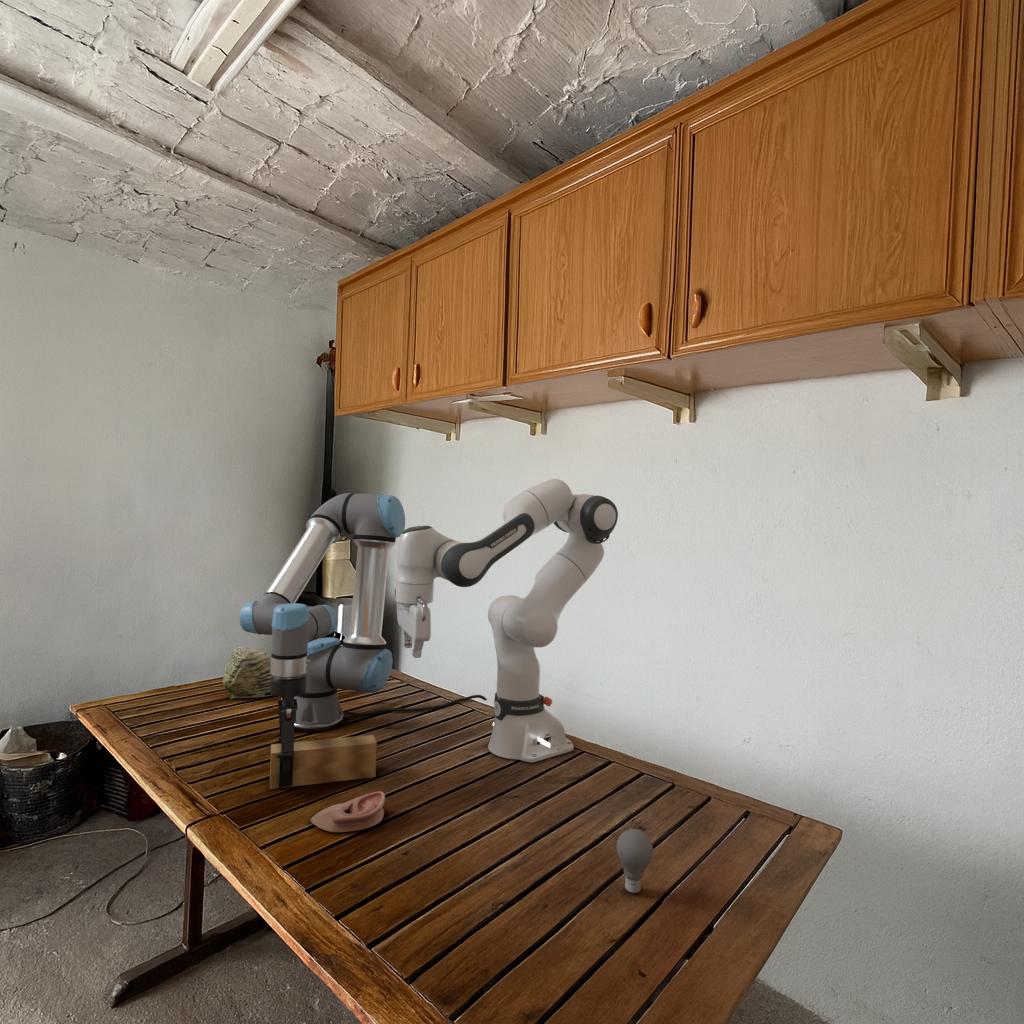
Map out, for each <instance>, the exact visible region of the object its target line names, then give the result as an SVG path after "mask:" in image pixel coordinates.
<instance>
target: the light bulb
mask: <svg viewBox="0 0 1024 1024" xmlns="http://www.w3.org/2000/svg"><path fill="white" fill-rule="evenodd" d="M615 849H616V854H617V857H618V859H619V861H620V863H621V865H622V867H623V873H624V874H623V875H624V876H625V878H624V888H625V890H627V891H628V892H630V893H634V894H635V893H639V892H640V891H641V889H642V887H641V886H642V879H643V877H644V875H645V871H646V868H647V867H648V866H649V864H650V863H651V861H652V859H653V855H654V847H653V843H652V841H651V838H649V836H648V835H647V834H646V833H645V832H643V831H642V830H641V829H636V828H629V829H627V830H625V831H623V832H622V833H621V834H620V835H619V837H618V839H617V841H616V847H615Z"/></svg>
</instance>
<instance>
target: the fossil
mask: <svg viewBox="0 0 1024 1024" xmlns="http://www.w3.org/2000/svg"><path fill="white" fill-rule="evenodd" d="M270 668H271V657H270V656H269V655H268V654H267V653H266V652H265V650H264V649H263V648H260V647H258V648H251V647H247V646H246V647H245V646H238V647H237V648H236V649H235V650H233V651H232V653H231V656H230V657H229V659H228V660H227V663H226V666H225V668H224V671H223V675H222V676H223V677H222V685H223V687H224V688H225V690H226V691H228V693H229V698H230V699H250V698H264V697H271V696H273V695H272V694H271V693H270V678H271V677H272V675H271V674H270Z"/></svg>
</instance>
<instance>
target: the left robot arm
mask: <svg viewBox="0 0 1024 1024" xmlns="http://www.w3.org/2000/svg"><path fill="white" fill-rule="evenodd" d="M305 528H306V530H305V532H304V533H303V535H302V536H301V538H300V539H299V541H298V542H297V543H296V546H295V547H294V548H293V550H292V551H291V553H290V554H289V556H287V557H288V558H287V559H286V560H285V562H284V564H283V565H282V567H281V568H280V570H279V571H278V573H277V574H276V575H275V577H274V579H273V580H272V582H271V583H270V585H269V586H268V587H267V589H266V591H265V592H264V594H263V595H262V596H261V597H260V599H259V600H253V601H252V600H251V601H248V602H246V603H244V604H243V606H242V607H241V609H240V612H239V626H240V627H241V629H242V630H243V631H244V632H246V633H250V634H254V635H259V636H260V635H265V636H266V635H268V636H271V655H270V658H271V668H270V674H271V675H272V677H271V678H270V693H271V694H272V696H273V697H277V698H280V699H277V712H278V724H279V727H278V730H279V733H278V736H279V737H278V744H280V743H281V754H280V755H277V758H280V767H279V788H278V789H281V788H280V787H285V788H289V787H288V786H292V782H293V757H294V742H295V731H296V732H301V733H316V732H325V731H329V730H332V729H335V728H337V727H339V726H340V725H342V723H343V722H344V715H345V716H355V717H365V716H371V715H376V714H380V713H389V712H423V711H432V710H437V709H441V708H442V709H443V708H446V707H449V706H453V705H454V704H457V703H461V702H465V701H469V700H473V699H481V700H483V701H488V699H487V698H486V697H485V696H484V695H481V694H473V695H472V694H471V695H469V696H466V697H461V698H457V699H454V700H451V701H449V702H446V703H441V704H437V705H432V706H431V705H430V706H423V707H409V708H408V707H388V708H380V709H375V710H371V711H365V712H354V711H345V710H343V709H342V706H341V702H340V699H339V695H338V690H344V691H345V690H346V691H353V692H359V693H362V694H363V693H371V694H372V693H373V694H374V693H378V692H379V691H381V690H382V689H383V688H384V687H385V685H386V683H387V682H388V680H389V678H390V675H391V673H392V668H393V664H394V663H393V653H392V652H391V651H390V650H389V649H387V641H386V640H385V638H384V637H383V636H382V631H383V620H384V611H385V599H386V589H387V580H388V579H387V578H388V569H389V567H388V566H389V557H390V556H389V555H390V550H391V548H392V547H394V546H395V545H396V540H397V538H400V536H401V533H402V532H403V531H404V530H405V529H406V514H405V509H404V506H403V504H402V502H401V500H400V499H399V498H398V497H397V496H395V495H389V494H384V493H354V492H346V493H345V492H344V493H340V494H339V495H335V496H334V497H332V498H330V499H328V500H327V501H326V502H324V503H323V504H322V505H320V506H319V507H318V508H317V509H316V510H315V511H314V512H313V513H312V515H310V517H309V519H308V520H307V522H306V524H305ZM344 535H353V537H352V541H353V543H354V544H355V545H356V547H357V553H356V564H355V574H354V584H353V593H352V603H351V604H352V605H351V615H350V625H349V634H348V635H347V636H346V637H345V638H343V641H342V644H340V643H341V641H340V639H339V638H338V637H328V636H329V635H331V634H332V633H333V632H334V631H336V629H337V628H338V625H339V624H338V623H339V616H338V614H337V612H336V610H335V609H334V608H333V607H332V606H330V605H329V604H316V605H314V606H310V605H309V606H308V605H307V604H304V603H296V602H297V601H298V599H299V598H300V596H301V595H302V593H303V591H304V589H305V588H306V587H307V584H308V583H309V581H310V579H311V578H312V577H313V575H314V573H315V572H316V570H317V568H318V566H319V565H320V564H321V562H322V560H323V558H324V557H325V555H326V553H327V552H328V550H329V549H330V547H331V545H332V544H336V543H337V542H338V541H339V539H340V538H341V537H342V536H344ZM464 698H465V699H464Z"/></svg>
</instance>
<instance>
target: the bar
mask: <svg viewBox="0 0 1024 1024" xmlns="http://www.w3.org/2000/svg"><path fill="white" fill-rule="evenodd" d="M377 748H378V742H377V740H376V738H375V735H374V734H367V735H357V736H346V737H345V736H344V737H335V738H325V739H314V740H313V739H312V740H303V741H294V757H293V782H292V786H288V787H287V788H295V787H300V786H302V787H303V786H309V785H310V786H311V785H318V784H319V785H320V784H327V783H335V782H344V781H353V780H361V779H369V778H375V777H376V773H377V750H378V749H377ZM280 754H281V743H280V744H279V743H271V744H270V765H269V790H275V789H276V790H277V789H284V788H285V789H286V787H280V788H279V767H280V758H277V755H280Z"/></svg>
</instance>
